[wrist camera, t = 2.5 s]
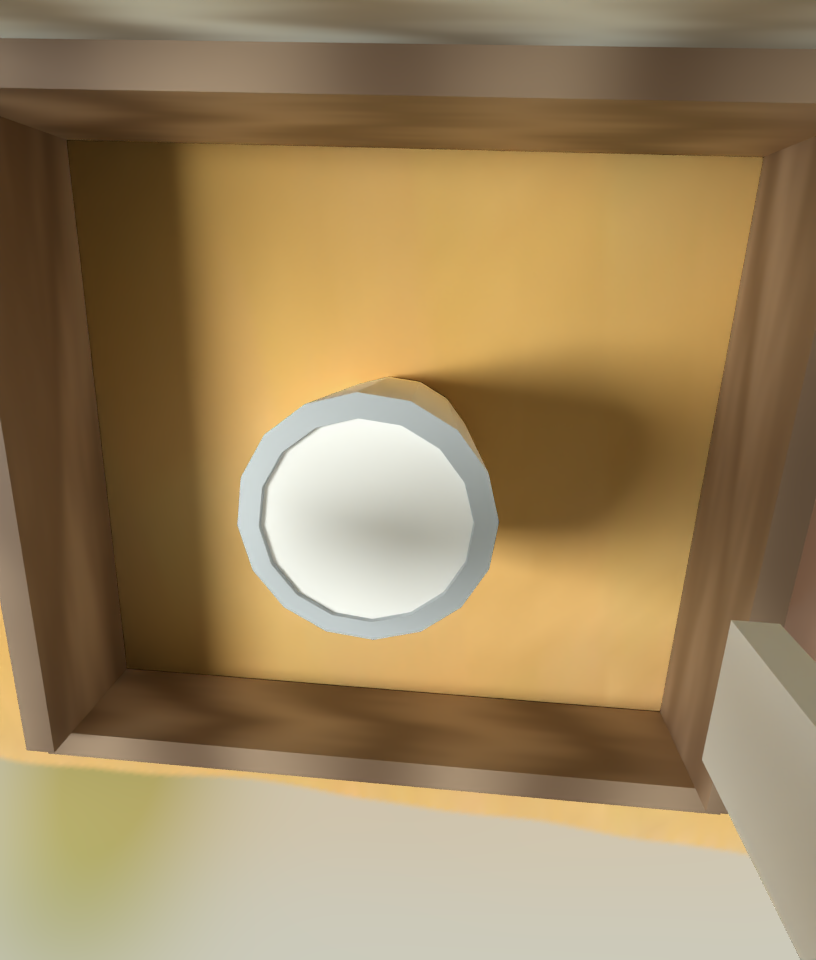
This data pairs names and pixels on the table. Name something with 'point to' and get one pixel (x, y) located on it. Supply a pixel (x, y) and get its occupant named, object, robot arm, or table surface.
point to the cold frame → (397, 124)
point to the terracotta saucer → (805, 595)
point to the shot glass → (369, 510)
